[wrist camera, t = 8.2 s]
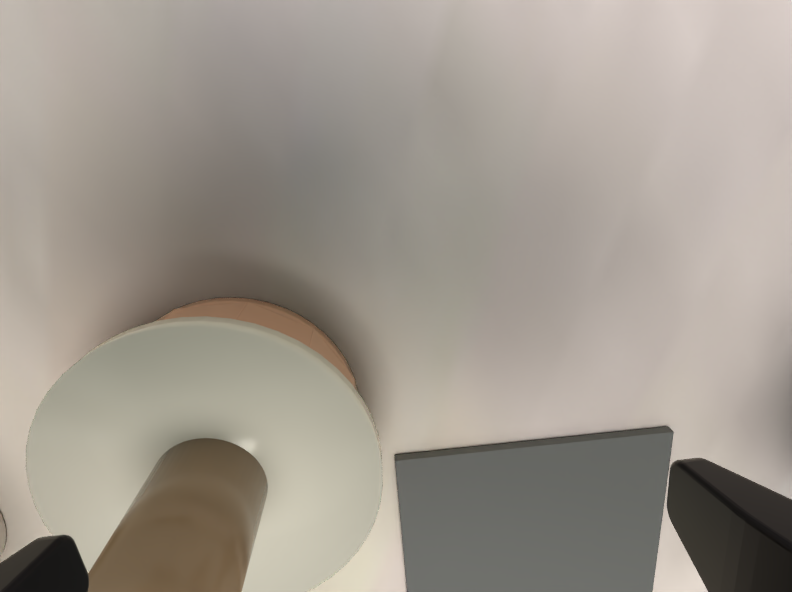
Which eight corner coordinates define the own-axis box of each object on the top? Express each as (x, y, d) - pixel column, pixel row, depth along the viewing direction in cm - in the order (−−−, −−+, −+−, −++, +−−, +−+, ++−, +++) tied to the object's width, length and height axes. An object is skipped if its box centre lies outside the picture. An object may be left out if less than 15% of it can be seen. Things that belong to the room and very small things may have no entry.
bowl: (345, 285, 18) (341, 322, 15) (369, 490, 21) (370, 559, 18) (87, 309, 18) (22, 352, 14) (150, 514, 21) (109, 588, 18)
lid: (366, 300, 15) (366, 397, 9) (393, 574, 18) (406, 756, 13) (-9, 334, 14) (-228, 456, 9) (96, 607, 18) (-16, 808, 13)
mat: (667, 426, 21) (673, 431, 21) (642, 623, 25) (647, 631, 25) (394, 454, 21) (395, 461, 20) (412, 650, 25) (413, 659, 24)
